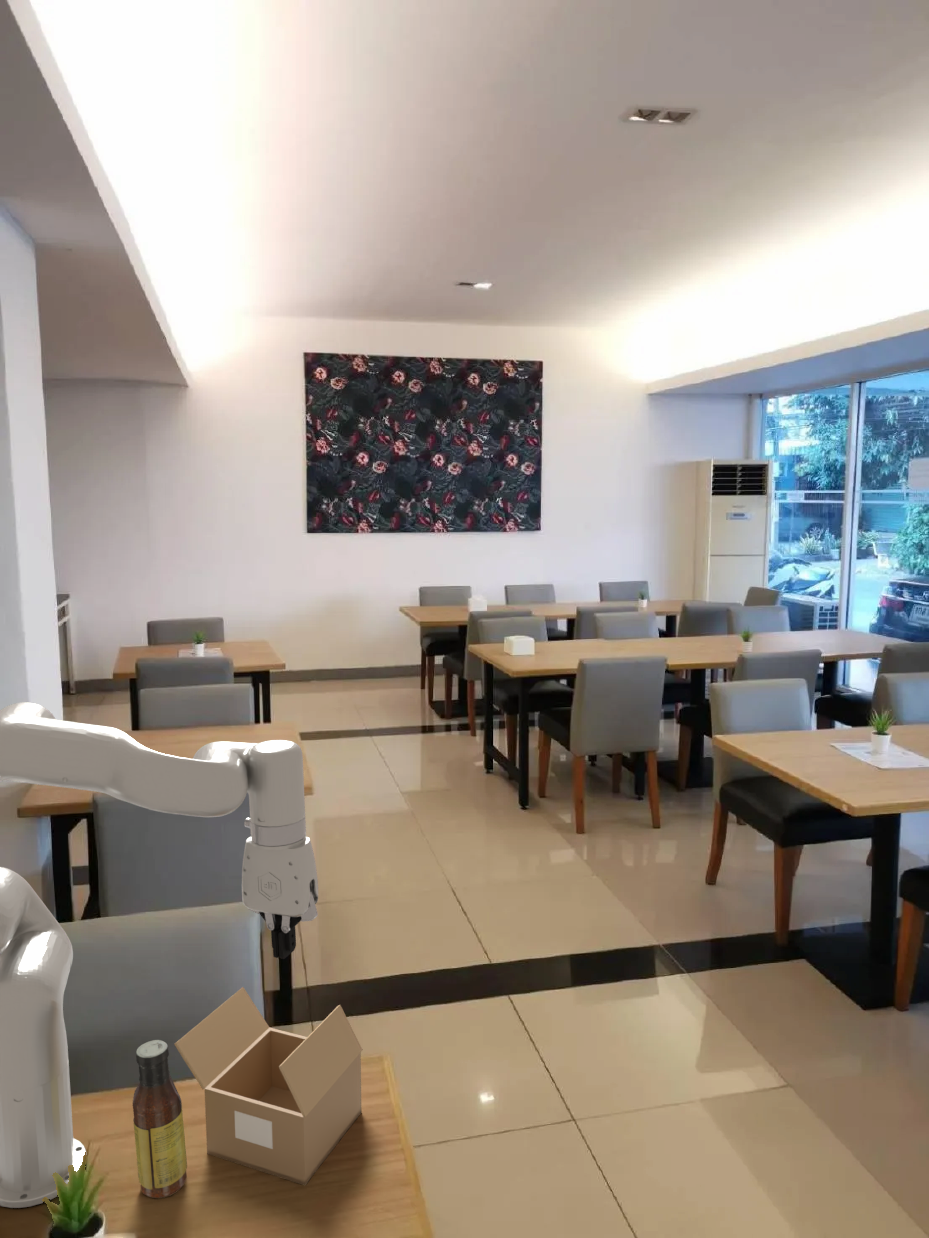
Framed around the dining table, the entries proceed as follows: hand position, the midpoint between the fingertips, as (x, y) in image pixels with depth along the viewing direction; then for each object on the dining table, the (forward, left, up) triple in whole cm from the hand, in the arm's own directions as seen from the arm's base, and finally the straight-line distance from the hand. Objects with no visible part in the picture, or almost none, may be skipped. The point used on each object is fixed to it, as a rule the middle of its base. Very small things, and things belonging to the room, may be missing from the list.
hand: (284, 953), depth 131 cm
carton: (0, 0, -28) cm, 28 cm away
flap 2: (+6, 0, -15) cm, 16 cm away
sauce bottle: (-10, -15, -28) cm, 33 cm away
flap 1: (-11, 0, -15) cm, 18 cm away
